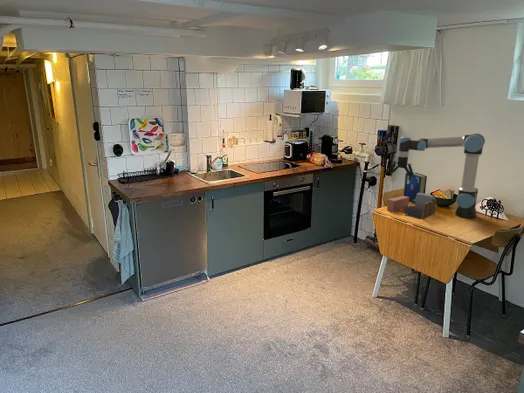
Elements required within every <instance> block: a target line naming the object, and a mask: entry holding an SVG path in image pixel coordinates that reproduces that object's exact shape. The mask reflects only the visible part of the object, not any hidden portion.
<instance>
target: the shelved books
mask: <svg viewBox="0 0 524 393" xmlns="http://www.w3.org/2000/svg"><path fill="white" fill-rule="evenodd" d="M434 199H436V197H435V195H431V194H426V193H425V194H422V193H417V195H416V203H414V204H415V205H414V206H416V207H420V208H423V204H424V203H426V202H429V201H431V200H434Z"/></svg>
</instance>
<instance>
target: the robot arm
mask: <svg viewBox="0 0 524 393" xmlns="http://www.w3.org/2000/svg"><path fill="white" fill-rule="evenodd" d="M399 140H400V141H399V146H398V147H399V148H398V156H397V160H395V161H393V164H392V166H391V167H390V169H388V170H389V171H388V172H390V177H391V181H392V182H393V181H395V174H396V173H395V172H396V171H397V170H398V169H399V168H400V169H403V170H405V173H406V172H407V173H408V175H409V176H408V178H407V184H409V182H410V180H411V176H413V175H414V173H415V172H414V171H413V167H412V163H411V162H410V163H409V162H408V161H409V152H410V150H412V151H419V152H424V151H425V150H426V149H433V148H434V149H436V148H437V149H438V148H439V149H440V148H457V147H458V148H459V147H463V148H464V150H463V154H464V155H465V159H464V166H463V173H462V180H461V186H460V187H459V188H458V192H457V196H456V204H457V205H458V206H457V207H456V209H455V212H454V215H455V216H457V217H459V218H464V219H475V218H477V214H478V213H477V208H476V205H477V199H478V194H479V189H478V188H477V187H475V185H476V179H477V178H476V177H477V173H478V165H479V159H480V156H482V154H483V147H484V145H485V142H486V138H485V137H484V136H483V135H482V134H480V133H471V134H464V135H463V136H449V137H437V138H436V137H432V138H431V137H430V138H419V139H418V140H417V139H416V140H414V139H413V140H412V139H411V137H410V136H401V137H400V138H399ZM396 165H397V166H396Z"/></svg>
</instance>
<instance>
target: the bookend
mask: <svg viewBox="0 0 524 393" xmlns="http://www.w3.org/2000/svg"><path fill="white" fill-rule="evenodd" d="M403 211H404V212H403V213H404V214H405V216H407V217H410V218H413V219H416V220H417V219H418V220H422V219H421V216H422V208H420V207H416V206H415V205H412V204H410V205H408V206H405V208H404V209H403Z"/></svg>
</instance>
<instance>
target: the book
mask: <svg viewBox="0 0 524 393" xmlns="http://www.w3.org/2000/svg"><path fill="white" fill-rule="evenodd" d="M413 173H414V175H413V176H411V180H410V182H409V184H407V178H408V176H409V175H408V173H407V172H406V171H405V178H404V187H403V188H404V189H403V196H406V197H409V202H411V203H413V204H415V203H416V195H417V193H422V194H426V188H427V187H426V186H427V177H428V176H427V175H425V174H422V173H419V172H413Z"/></svg>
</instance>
